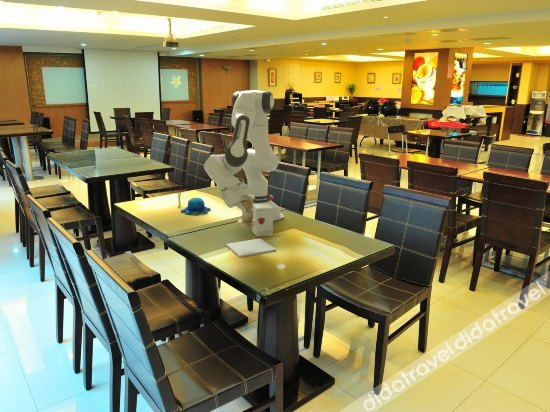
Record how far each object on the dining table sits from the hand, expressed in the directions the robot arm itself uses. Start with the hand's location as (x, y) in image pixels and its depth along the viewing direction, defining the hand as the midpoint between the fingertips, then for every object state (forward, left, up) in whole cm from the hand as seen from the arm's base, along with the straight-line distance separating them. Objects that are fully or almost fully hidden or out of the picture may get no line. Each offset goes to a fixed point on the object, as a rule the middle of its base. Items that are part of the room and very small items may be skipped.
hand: (248, 209), depth 190 cm
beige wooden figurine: (+1, 0, -7) cm, 7 cm away
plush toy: (+4, -69, -19) cm, 72 cm away
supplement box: (-14, -15, -19) cm, 28 cm away
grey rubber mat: (0, +1, -19) cm, 19 cm away
